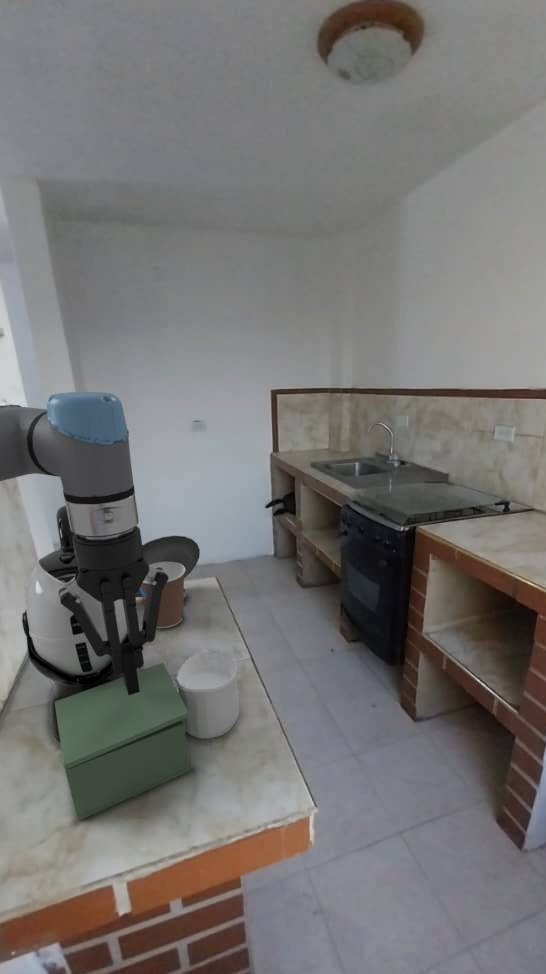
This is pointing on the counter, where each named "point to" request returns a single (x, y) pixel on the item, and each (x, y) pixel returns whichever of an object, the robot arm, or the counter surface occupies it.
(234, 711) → the cup
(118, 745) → the lid
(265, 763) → the counter surface
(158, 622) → the coffee cup
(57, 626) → the kettle
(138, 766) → the chest
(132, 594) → the robot arm
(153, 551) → the plate
